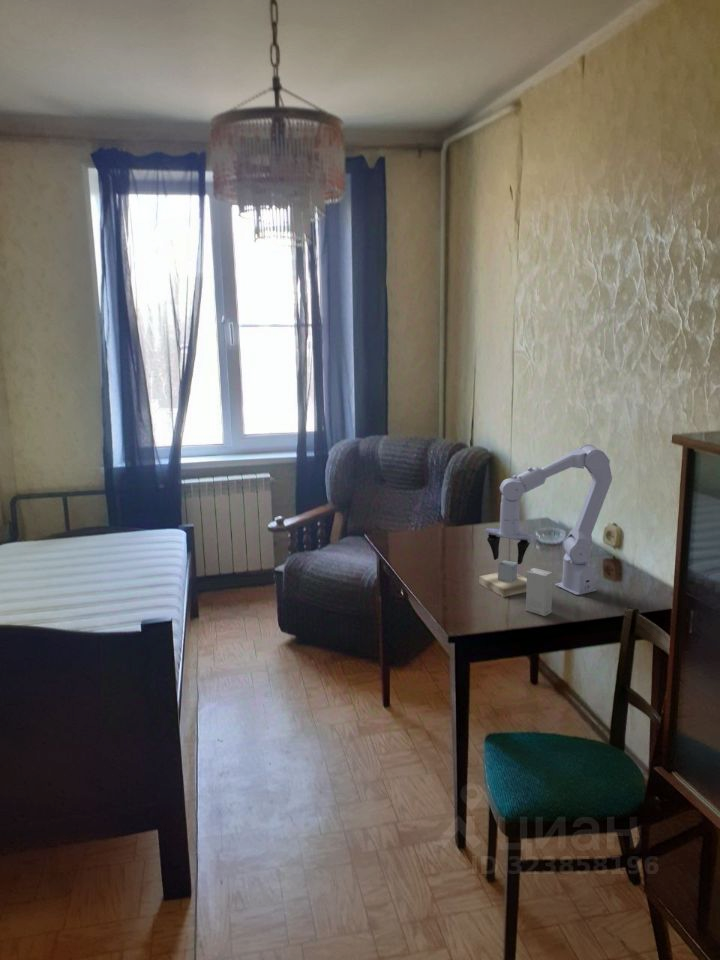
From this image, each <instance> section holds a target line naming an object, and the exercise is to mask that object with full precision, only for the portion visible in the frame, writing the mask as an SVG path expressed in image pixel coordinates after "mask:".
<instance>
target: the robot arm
mask: <svg viewBox="0 0 720 960" xmlns="http://www.w3.org/2000/svg"><path fill="white" fill-rule="evenodd" d="M610 462H611V461H610V459H609V457H608V456H607V454H606V453H605V452H604V451H602V450H601V449H598V448H597V447H596V446H595V445H593V444H588V443H587V444H584V445H582V446H580V447H577V448H574V449H572V450H571V451H570V452H568V453H567V454H564V455H562V456H561V457H559V458H557V459H555V460H553V461H552V462H549V463H548V464H547V465H545V466H543V467H538V466H534V467H531V466H529V467H527V469H526V470H525V471H524V472H521V473H519V474H514V475H512V477H511V478H506V479H503V480H502V481H501V483H500V486H499V491H500V494H501V496H500V497H501V499H500V501H501V502H500V510H499V511H500V512H499V513H500V514H499V528H490V527H487V528H486V529H485V530H484V531H485V533H484V534H485V536H486V537H487V536H488V537H487V543H488V545H489V546H490V549H491V553H492V556H493V560H495V561H496V560H497V559H499V555H500V554H499V553H500V552H499V551H500V550H499V549H500V539H501V538H504V539H509V540H515V541H519V542H517V544H516V545H517V563H518V565H521V564H522V563H523V560H524V556H525V554H526V551H527V549H528V548H529V546H530V544H532V543H533V542H534V534H529V533H527V532H521V531H520V517H521V516H520V513H521V512H520V511H521V509H520V508H521V501H520V500H521V498H522V496H523V495H524V494H526V493H528V492H531V491H532V490H534V489H537V488H538V487H541V486H542V485H544V484H545V482H546V480H547V478H550V477H553V476H554V475H556V474H558V473H561V472H564V471H565V470H568V469H570V468H575V469H585V468H586V470H587V472H588V473H589V475H590V477H591V479H592V480H591V483H590V485H589V488H588V490H587V492H586V493H587V494H586V496H585V499H584V502H583V504H582V506H581V509H580V512H579V514H578V518H577V521H576V522H575V525H574V527H573V528H572V529H570V531H569V533H568V535H567V536H566V537H565V538H564V539H563V542H562V549H563V550H564V552H565V553H564V555H563V559H562V561H563V562H562V577H561V581H560V582H557V583H555V586H556V587H558V588H561V589H563V590H564V591H566V592H569V593H571V594H574V595H575V596H580V595H585V594H588V593H593V592H596V591H597V589H596V588H595V582H596V569H595V567H594V566H592V565H591V564H590V562H589V559H590V558H591V555H592V551H591V547H592V545H593V538H592V534H593V532H594V529H595V525H596V523H597V520H598V518H599V515H600V514H601V510H602V507H603V506H604V502H605V499H606V496H607V494H608V491H609V489H610V486H611V484H612V480H613V475H612V470H611V466H610V465H611V463H610Z"/></svg>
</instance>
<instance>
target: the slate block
mask: <svg viewBox="0 0 720 960" xmlns="http://www.w3.org/2000/svg"><path fill="white" fill-rule="evenodd" d="M518 566H519V564H518V562H517V561H511V560H510V561H509V560H505V559H503V560H502V561H500V562H499V563H498V567H497V573H498V580H501V581H506V582H511V583H512V582H513V581H514V580H515V579H516V578H517V574H518Z"/></svg>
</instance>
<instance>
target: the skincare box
mask: <svg viewBox="0 0 720 960" xmlns="http://www.w3.org/2000/svg"><path fill="white" fill-rule="evenodd" d="M553 574H554V573H553V572H551V571H548V570H544V569H540V568H536V567H533V568H531V569H529V570H527V571H526V578H527V590H526V592H525V593H526V594H525V595H526V598H525V611H527V612H529V613H533V614H536V615H540V616H542V617H546V616H548V615H549V614H551V613H552V601H553V597H552V596H553Z"/></svg>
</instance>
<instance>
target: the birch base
mask: <svg viewBox="0 0 720 960" xmlns="http://www.w3.org/2000/svg"><path fill="white" fill-rule="evenodd" d="M478 578H479V579H478V584H479V585H481V586H482V587H483V588H486V589H487V590H489V589H490V590H489V591H491V592H493V593H495V594H497V595H499V596H500V595H501V597H502V598H506V597H509V596H514V595H518V594H523V593H526V590H527V577H525V576H523V575H521V574H519V573H517V578H516V579H515V580H514V581H513V582H512V583H511V582H506V581H501V580H498V572H494V573H489V574H484V575H483V574H482V575H479V576H478Z"/></svg>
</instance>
